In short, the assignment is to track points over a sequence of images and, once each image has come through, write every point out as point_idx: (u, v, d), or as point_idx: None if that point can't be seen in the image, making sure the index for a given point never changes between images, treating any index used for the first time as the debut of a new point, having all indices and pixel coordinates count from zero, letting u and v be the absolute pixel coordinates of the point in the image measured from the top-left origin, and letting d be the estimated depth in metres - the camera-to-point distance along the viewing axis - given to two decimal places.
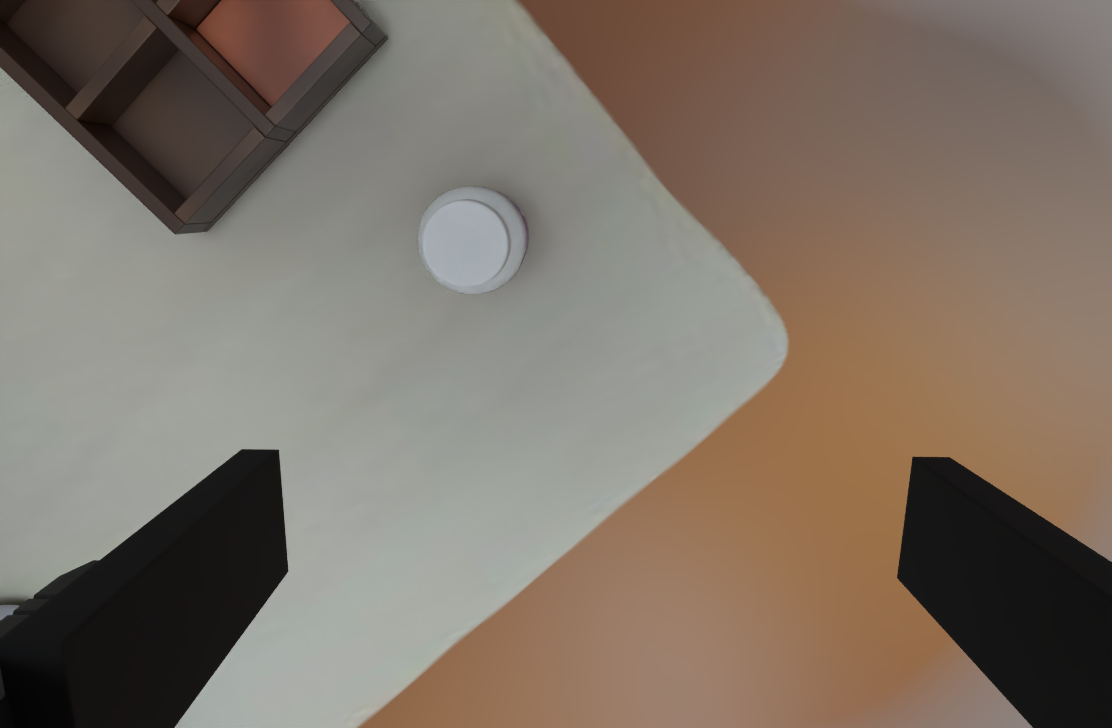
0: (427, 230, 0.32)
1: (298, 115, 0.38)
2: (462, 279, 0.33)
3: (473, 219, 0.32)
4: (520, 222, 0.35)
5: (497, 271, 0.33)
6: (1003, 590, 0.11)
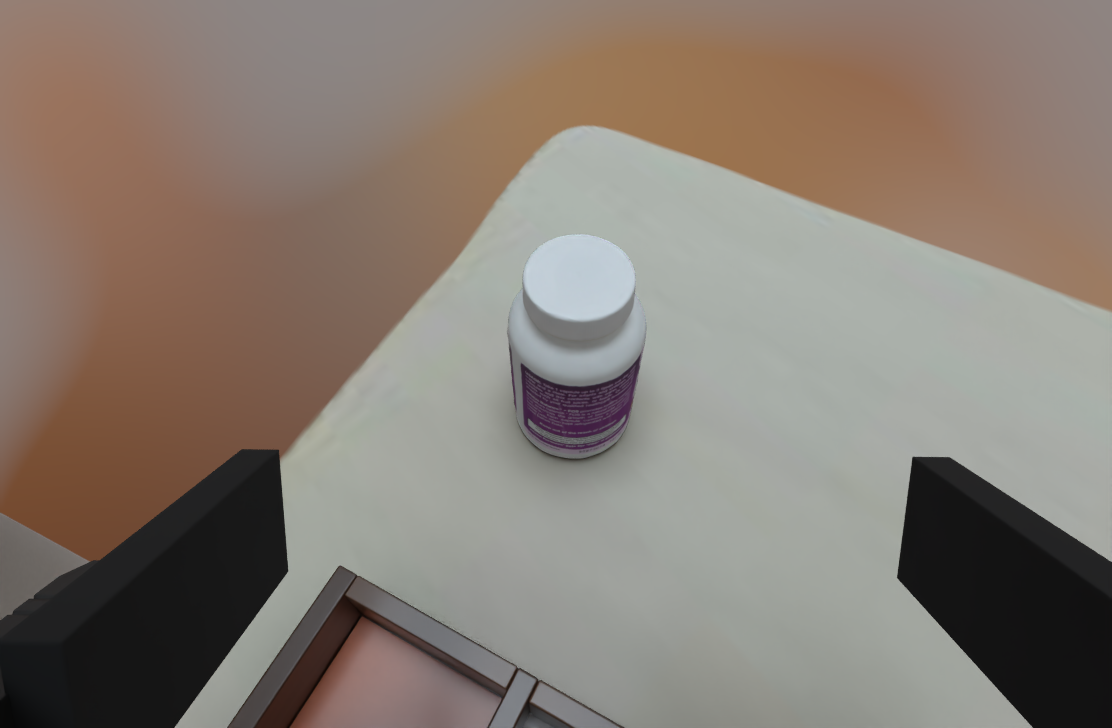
0: (579, 315, 0.24)
1: None
2: (623, 265, 0.25)
3: (545, 273, 0.25)
4: None
5: (597, 237, 0.26)
6: (1003, 590, 0.11)
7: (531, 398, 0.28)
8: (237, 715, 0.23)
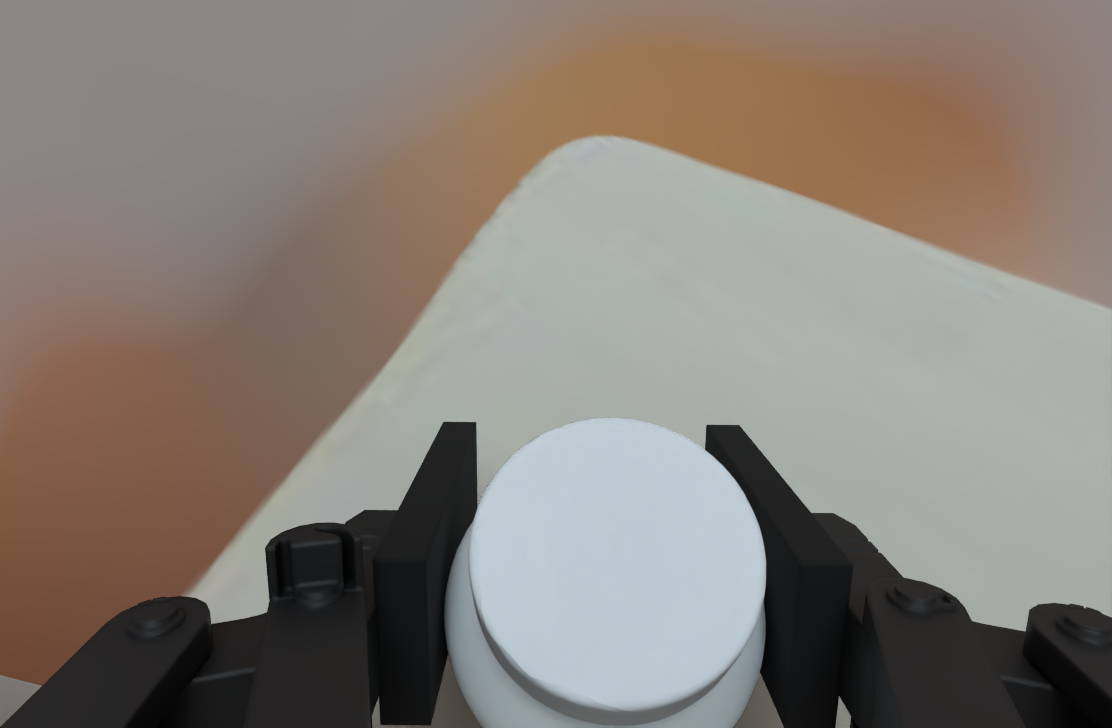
0: (620, 692, 0.08)
1: None
2: (731, 516, 0.10)
3: (527, 542, 0.09)
4: None
5: (658, 427, 0.10)
6: None
7: None
8: None
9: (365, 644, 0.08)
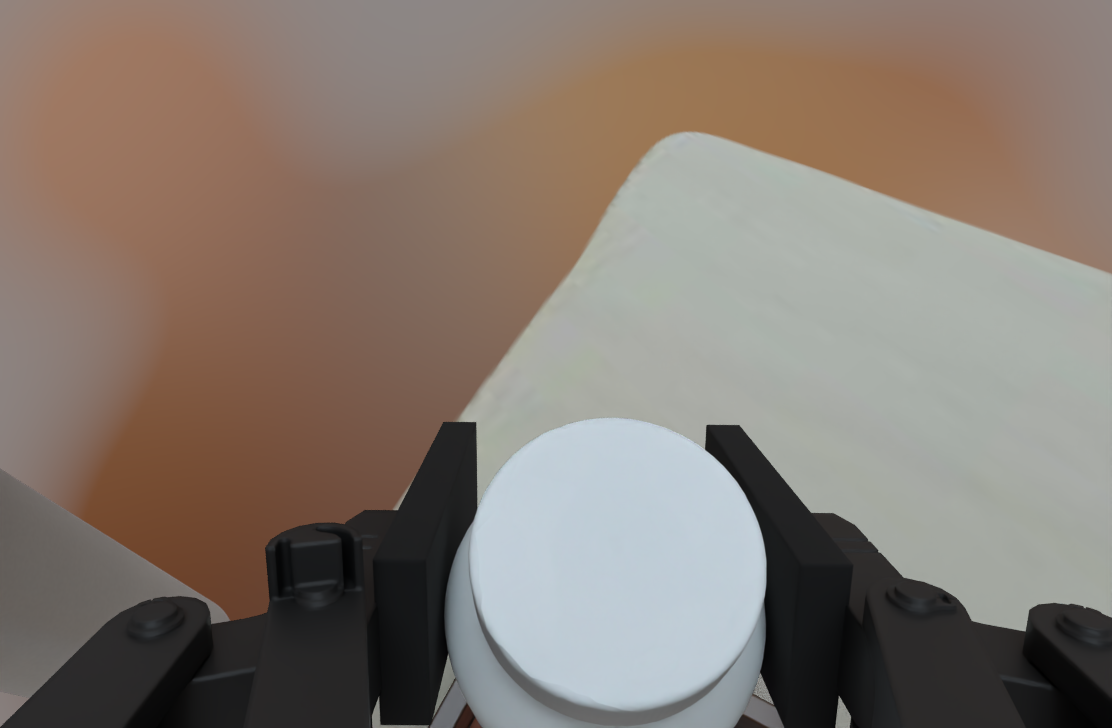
0: (621, 692, 0.08)
1: None
2: (732, 515, 0.10)
3: (527, 542, 0.09)
4: None
5: (658, 427, 0.10)
6: None
7: None
8: (436, 715, 0.23)
9: (365, 644, 0.08)
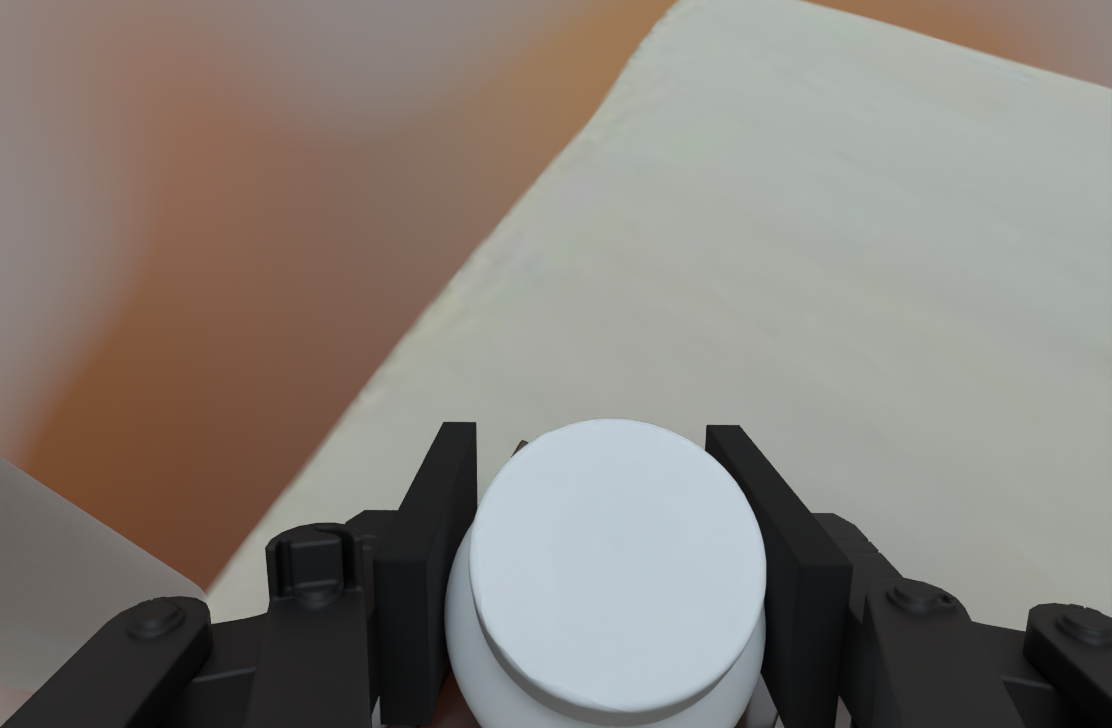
0: (621, 693, 0.08)
1: None
2: (731, 517, 0.10)
3: (527, 542, 0.09)
4: None
5: (658, 428, 0.10)
6: None
7: None
8: None
9: (365, 644, 0.08)
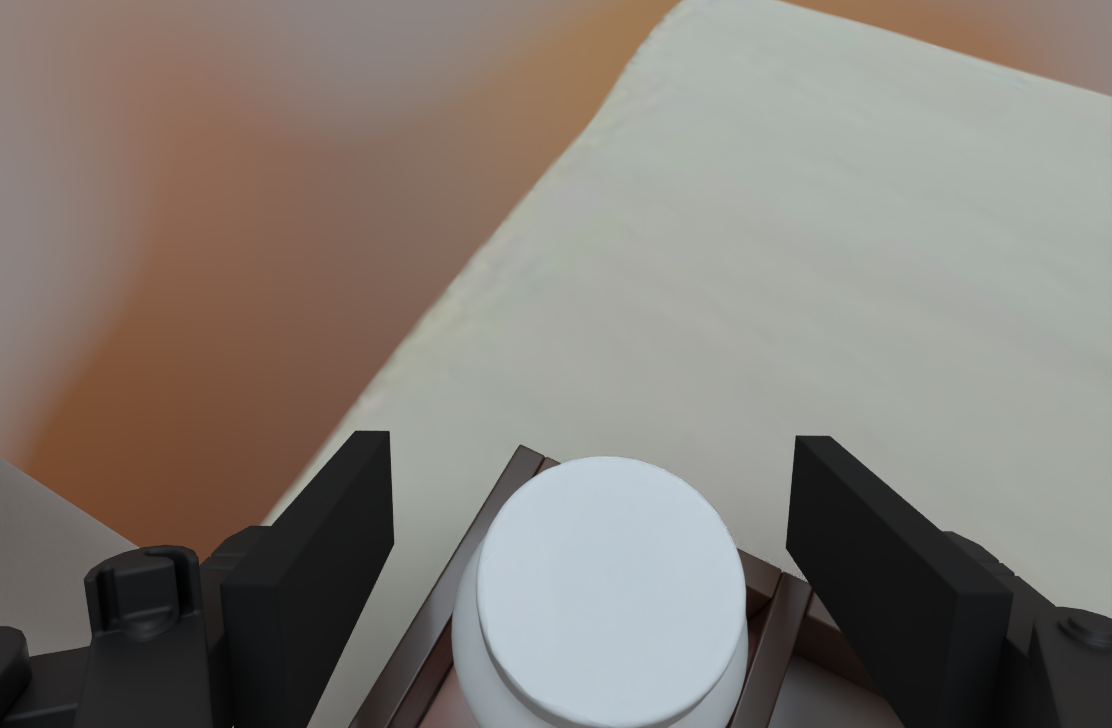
0: (613, 712, 0.09)
1: None
2: (715, 549, 0.11)
3: (529, 573, 0.10)
4: None
5: (649, 465, 0.11)
6: (850, 551, 0.13)
7: None
8: (408, 633, 0.16)
9: (205, 671, 0.08)
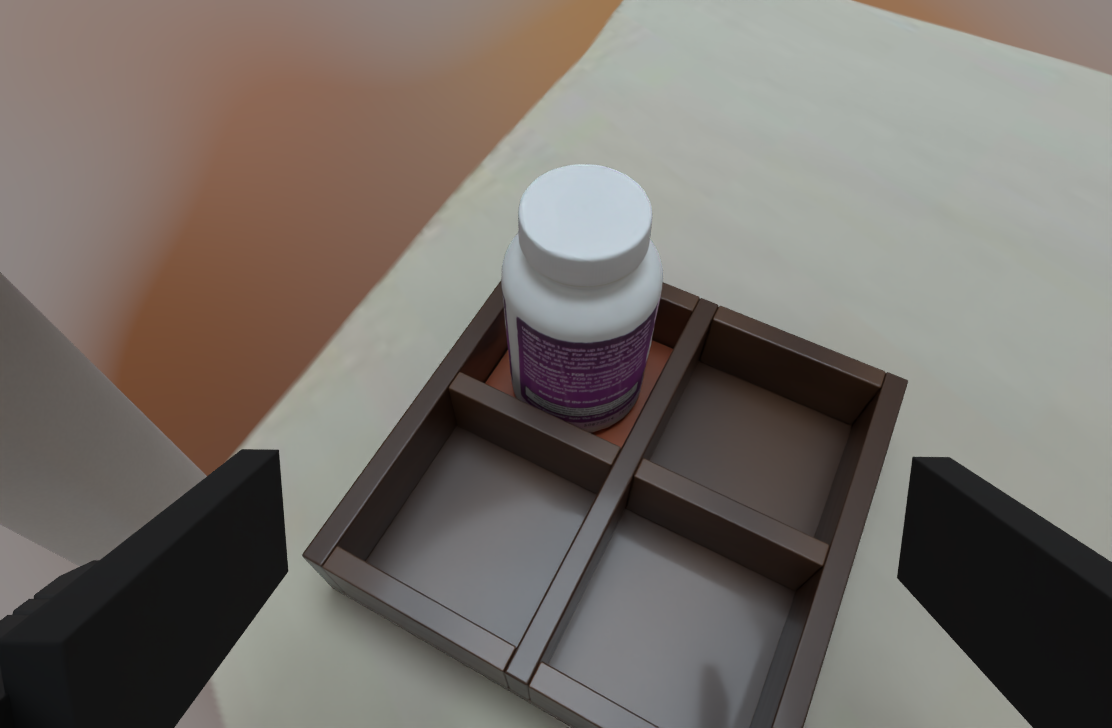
0: (585, 253, 0.20)
1: None
2: (637, 198, 0.21)
3: (545, 206, 0.21)
4: None
5: (606, 168, 0.22)
6: (1003, 590, 0.11)
7: (529, 361, 0.24)
8: (469, 326, 0.27)
9: None
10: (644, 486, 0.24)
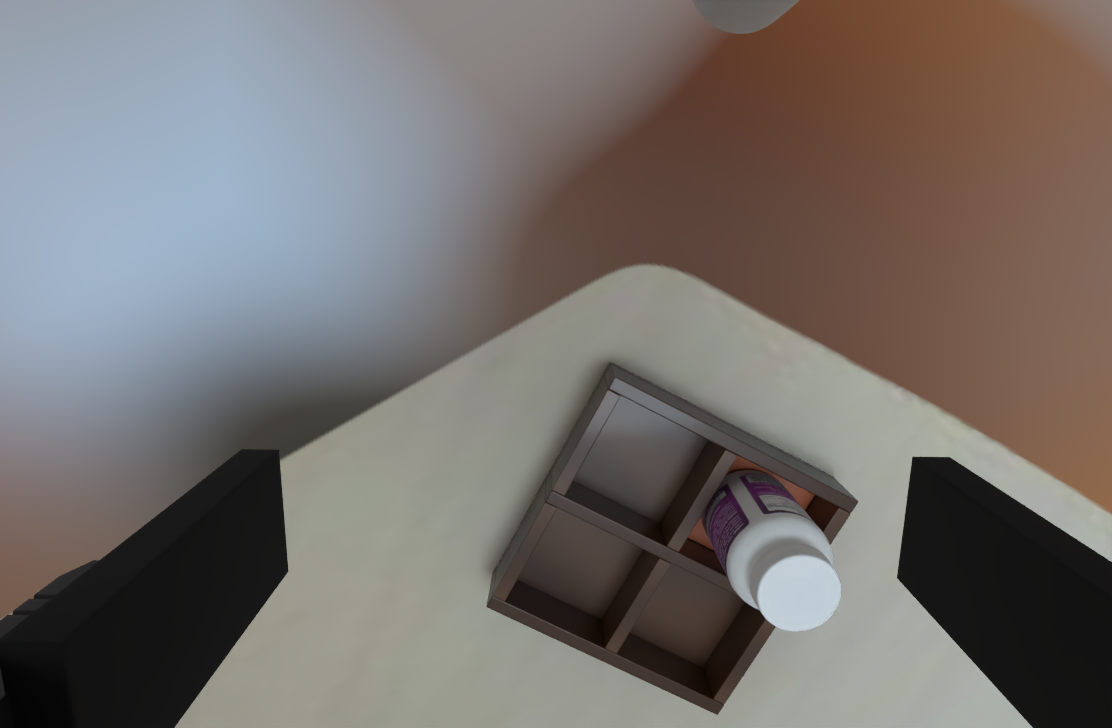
0: (761, 594, 0.33)
1: None
2: (805, 624, 0.34)
3: (802, 571, 0.33)
4: (823, 535, 0.36)
5: (836, 607, 0.33)
6: (1003, 590, 0.11)
7: (731, 513, 0.38)
8: (774, 459, 0.39)
9: None
10: (654, 561, 0.41)
